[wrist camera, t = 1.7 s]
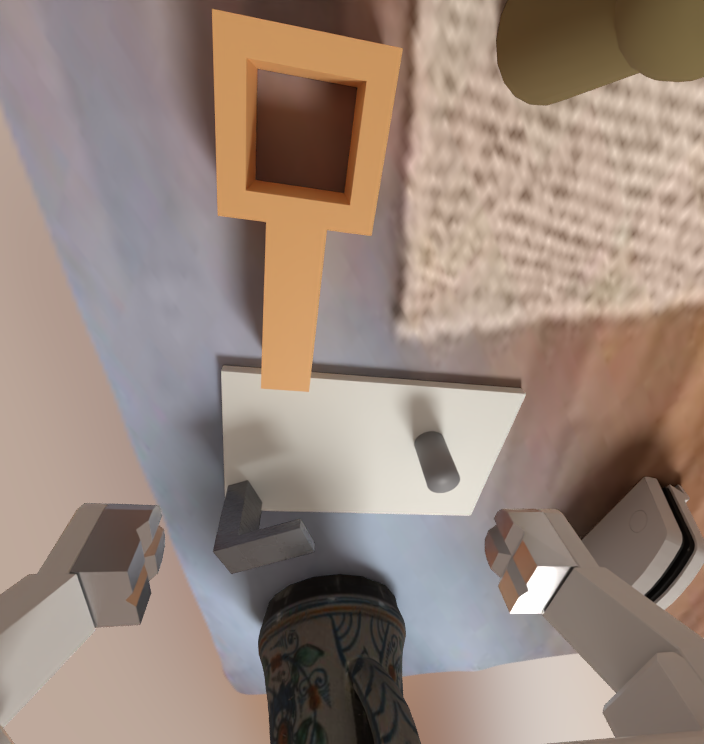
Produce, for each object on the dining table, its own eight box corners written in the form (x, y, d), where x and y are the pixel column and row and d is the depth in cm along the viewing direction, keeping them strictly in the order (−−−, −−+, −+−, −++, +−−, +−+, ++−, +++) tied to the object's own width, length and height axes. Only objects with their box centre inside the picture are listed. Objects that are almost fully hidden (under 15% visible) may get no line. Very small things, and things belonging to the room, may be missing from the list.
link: (229, 29, 19) (211, 8, 15) (387, 60, 20) (402, 48, 16) (233, 353, 28) (222, 385, 24) (340, 362, 29) (344, 394, 26)
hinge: (584, 576, 48) (611, 665, 39) (547, 560, 48) (566, 644, 40) (684, 483, 40) (746, 568, 31) (639, 464, 40) (689, 542, 32)
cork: (641, -30, 19) (963, -177, 10) (578, 118, 22) (775, 116, 13) (528, -73, 18) (766, -285, 8) (478, 89, 21) (613, 64, 12)
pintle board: (223, 365, 28) (207, 408, 24) (521, 388, 32) (553, 429, 27) (226, 502, 36) (215, 553, 31) (467, 508, 39) (486, 555, 35)
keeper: (302, 457, 34) (300, 528, 28) (313, 480, 35) (314, 552, 29) (229, 478, 34) (213, 551, 28) (244, 500, 36) (231, 573, 30)
